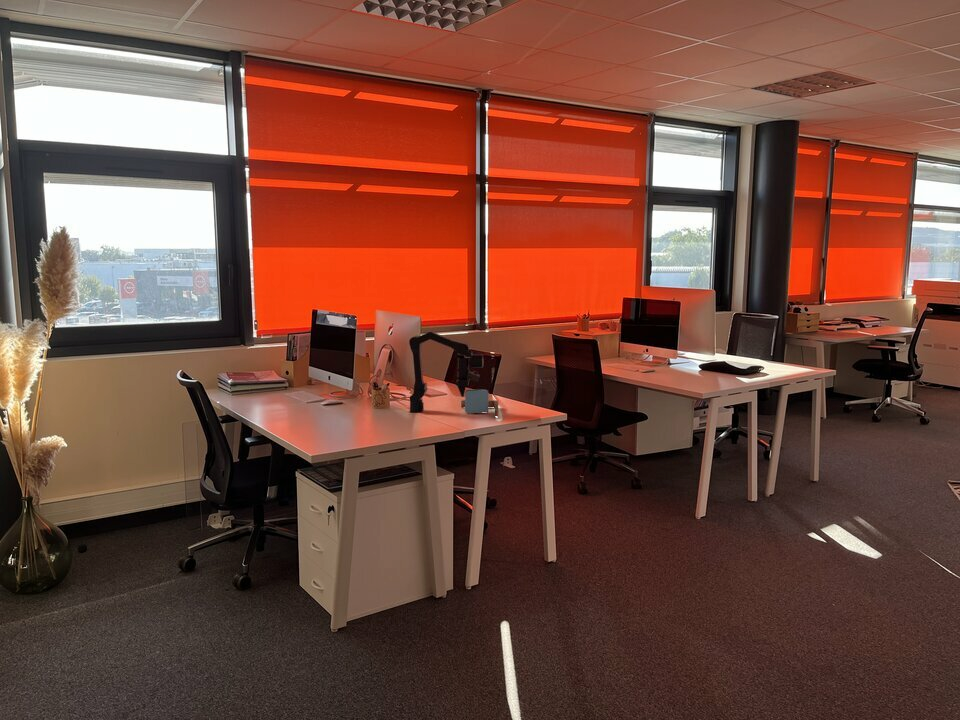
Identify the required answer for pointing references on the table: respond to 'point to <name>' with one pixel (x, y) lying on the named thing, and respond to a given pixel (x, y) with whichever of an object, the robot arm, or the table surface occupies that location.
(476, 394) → the data package
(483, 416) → the table surface
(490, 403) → the brown angled bar
